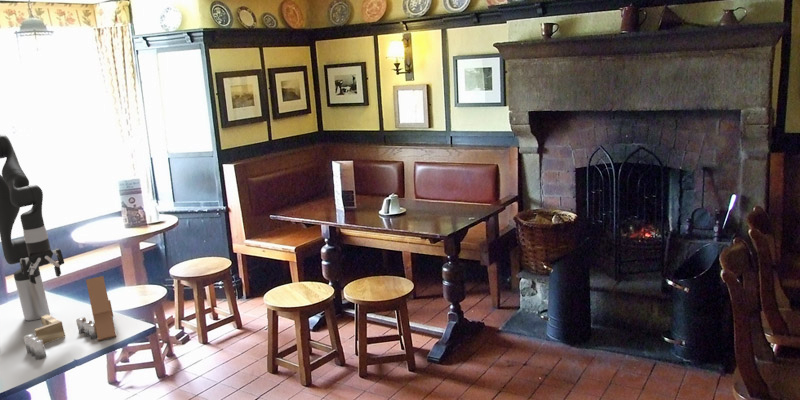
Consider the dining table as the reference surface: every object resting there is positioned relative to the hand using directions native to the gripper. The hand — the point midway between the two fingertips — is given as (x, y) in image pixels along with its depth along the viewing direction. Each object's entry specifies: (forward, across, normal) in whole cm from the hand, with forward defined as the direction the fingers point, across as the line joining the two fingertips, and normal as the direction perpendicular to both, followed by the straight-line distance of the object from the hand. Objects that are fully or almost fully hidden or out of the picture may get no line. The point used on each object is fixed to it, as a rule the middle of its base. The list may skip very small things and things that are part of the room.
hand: (46, 279), depth 245 cm
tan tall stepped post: (+21, -12, +14) cm, 28 cm away
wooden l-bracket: (+21, +5, +2) cm, 22 cm away
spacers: (+21, +4, +16) cm, 26 cm away
